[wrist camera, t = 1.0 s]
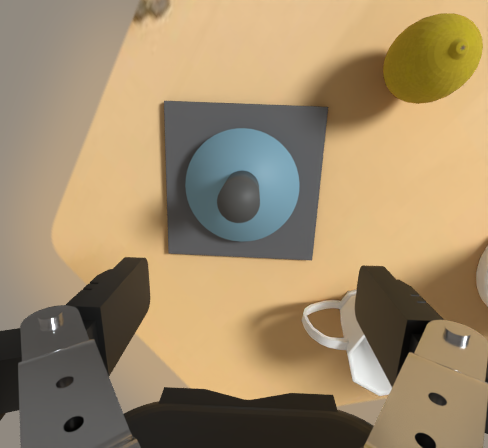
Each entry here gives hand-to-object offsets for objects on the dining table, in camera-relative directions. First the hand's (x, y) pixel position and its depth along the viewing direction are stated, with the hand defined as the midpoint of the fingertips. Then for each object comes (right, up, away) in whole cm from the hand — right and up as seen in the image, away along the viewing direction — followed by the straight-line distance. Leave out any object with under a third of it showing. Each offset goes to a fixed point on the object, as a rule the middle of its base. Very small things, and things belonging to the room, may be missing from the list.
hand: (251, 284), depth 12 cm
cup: (+10, -6, +21) cm, 24 cm away
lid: (0, +6, +17) cm, 18 cm away
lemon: (+13, +15, +15) cm, 25 cm away
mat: (0, +6, +17) cm, 19 cm away
